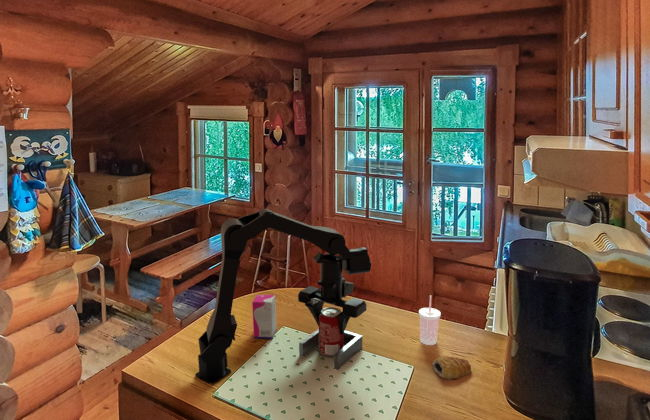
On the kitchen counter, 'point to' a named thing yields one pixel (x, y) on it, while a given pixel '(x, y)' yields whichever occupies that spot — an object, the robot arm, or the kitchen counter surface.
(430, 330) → the beverage cup
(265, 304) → the supplement box
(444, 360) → the pastry
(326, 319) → the soda can
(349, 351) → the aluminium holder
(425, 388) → the kitchen counter surface
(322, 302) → the robot arm
